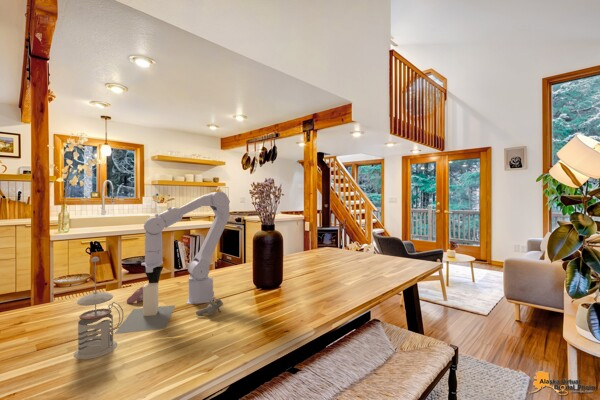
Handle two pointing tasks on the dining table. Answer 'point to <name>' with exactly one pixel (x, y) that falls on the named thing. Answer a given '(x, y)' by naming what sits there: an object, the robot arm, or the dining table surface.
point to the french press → (95, 325)
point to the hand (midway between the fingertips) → (154, 287)
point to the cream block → (150, 299)
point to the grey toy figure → (210, 308)
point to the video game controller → (136, 296)
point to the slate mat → (146, 320)
